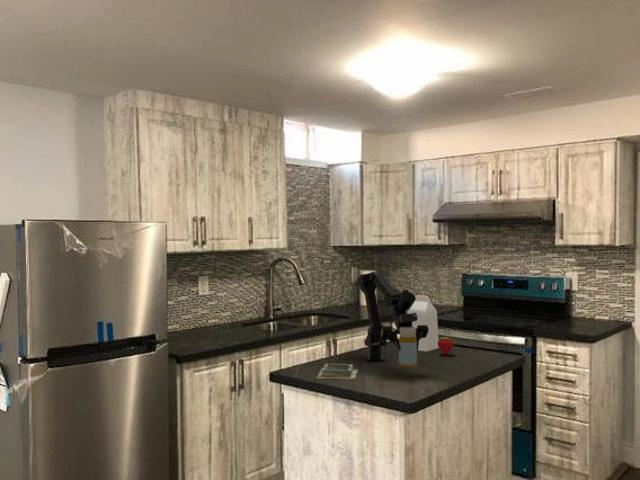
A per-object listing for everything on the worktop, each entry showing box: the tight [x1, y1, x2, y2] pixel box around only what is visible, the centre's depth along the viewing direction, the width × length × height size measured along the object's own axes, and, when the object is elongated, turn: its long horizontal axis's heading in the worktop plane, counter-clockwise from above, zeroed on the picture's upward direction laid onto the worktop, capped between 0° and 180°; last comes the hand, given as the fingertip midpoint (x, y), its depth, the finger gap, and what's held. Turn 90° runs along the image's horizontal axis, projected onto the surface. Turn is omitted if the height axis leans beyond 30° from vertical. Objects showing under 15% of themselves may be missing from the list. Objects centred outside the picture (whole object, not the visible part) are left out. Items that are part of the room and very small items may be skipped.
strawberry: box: [437, 336, 454, 356], centre depth 265 cm, size 6×8×10 cm
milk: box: [407, 294, 440, 353], centre depth 282 cm, size 12×12×26 cm
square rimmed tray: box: [316, 363, 359, 381], centre depth 230 cm, size 15×15×3 cm
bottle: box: [398, 327, 418, 368], centre depth 226 cm, size 7×7×15 cm
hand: (408, 349), depth 225 cm, fingers closed on bottle, 7 cm apart
